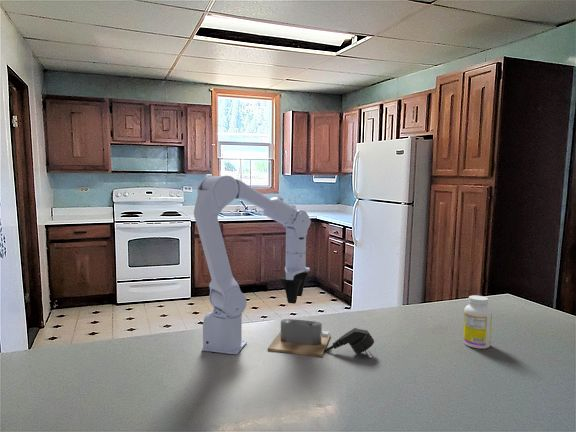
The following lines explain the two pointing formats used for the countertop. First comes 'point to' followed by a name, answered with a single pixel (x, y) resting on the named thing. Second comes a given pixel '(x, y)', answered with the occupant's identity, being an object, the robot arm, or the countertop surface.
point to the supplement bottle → (477, 323)
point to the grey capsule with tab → (302, 332)
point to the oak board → (298, 347)
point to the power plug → (355, 341)
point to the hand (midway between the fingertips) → (295, 299)
